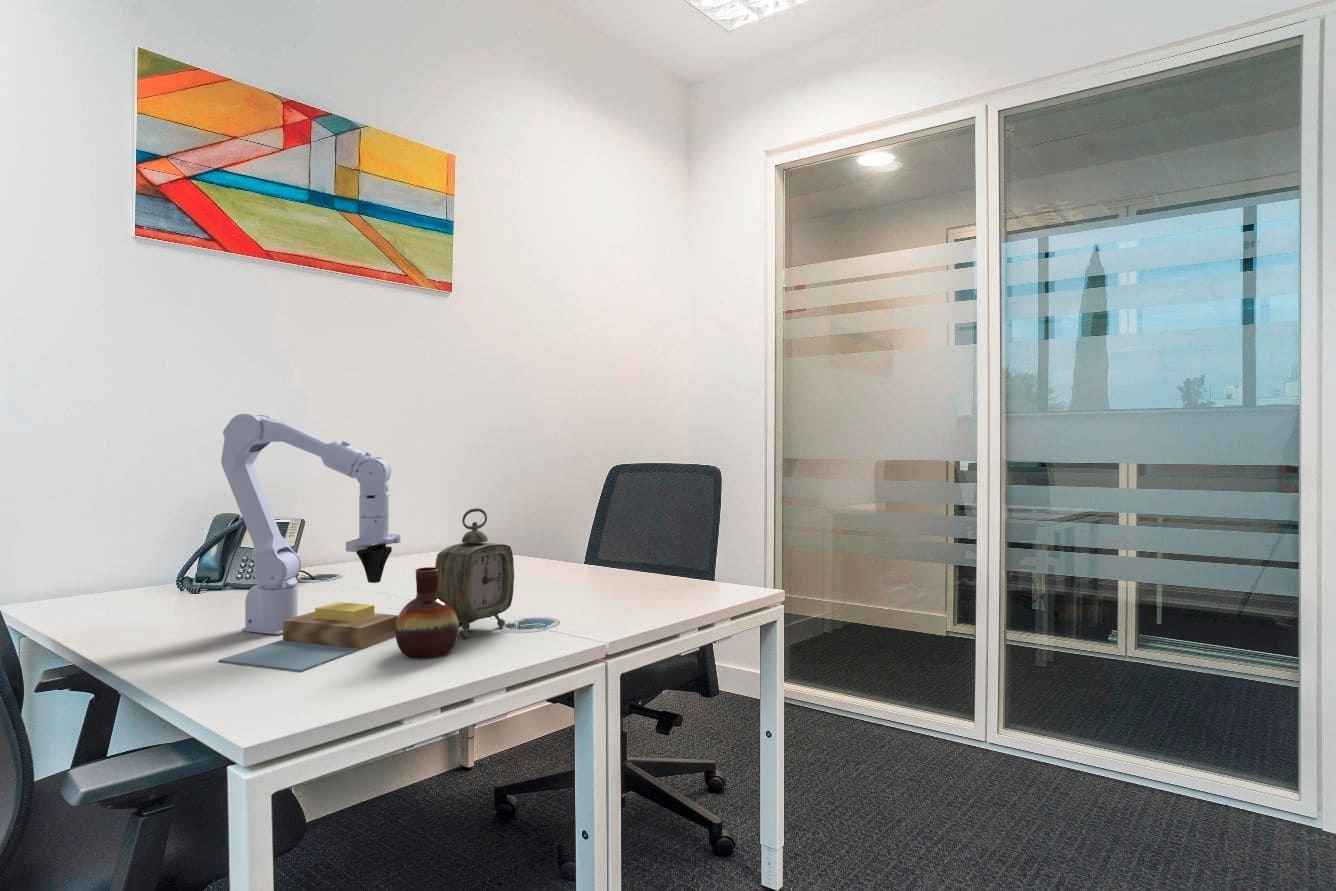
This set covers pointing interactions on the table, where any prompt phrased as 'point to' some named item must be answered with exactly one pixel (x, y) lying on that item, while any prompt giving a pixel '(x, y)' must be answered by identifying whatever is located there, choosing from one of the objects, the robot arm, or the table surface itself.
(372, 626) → the brown wooden block
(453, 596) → the tabletop clock
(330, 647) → the mat
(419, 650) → the vase
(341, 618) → the flat yellow block
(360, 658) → the table surface
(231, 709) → the table surface
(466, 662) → the table surface
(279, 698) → the table surface
